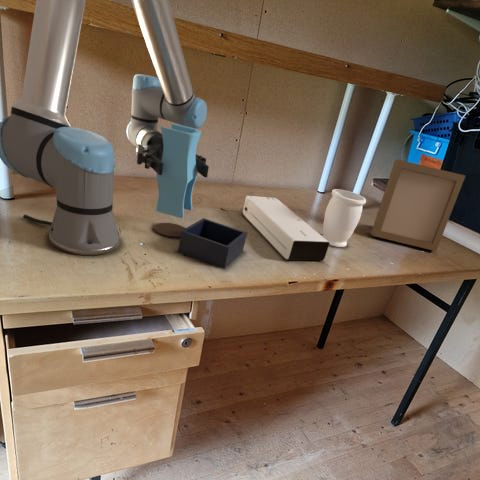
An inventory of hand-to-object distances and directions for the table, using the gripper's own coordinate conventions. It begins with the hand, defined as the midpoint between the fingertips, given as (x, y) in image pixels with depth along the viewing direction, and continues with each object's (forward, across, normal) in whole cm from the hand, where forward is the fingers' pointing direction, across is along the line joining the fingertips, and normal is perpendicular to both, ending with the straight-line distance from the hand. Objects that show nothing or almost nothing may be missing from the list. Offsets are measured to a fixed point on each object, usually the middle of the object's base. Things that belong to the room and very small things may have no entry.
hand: (184, 170), depth 99 cm
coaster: (-4, 0, -17) cm, 18 cm away
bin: (+9, -6, -17) cm, 20 cm away
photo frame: (+5, -82, -18) cm, 84 cm away
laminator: (+1, -32, -18) cm, 36 cm away
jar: (+6, -50, -18) cm, 54 cm away
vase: (-4, 0, -12) cm, 12 cm away
